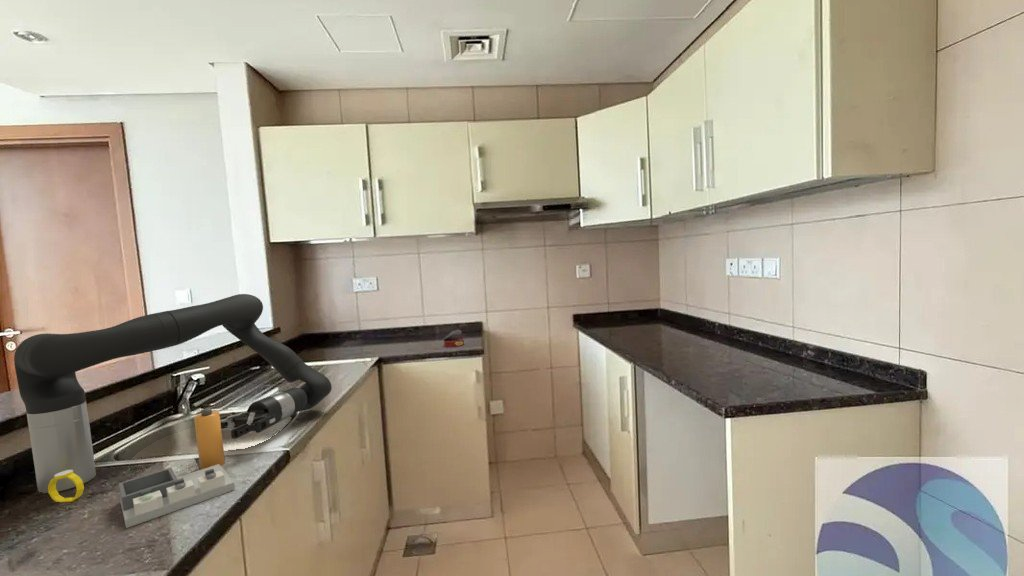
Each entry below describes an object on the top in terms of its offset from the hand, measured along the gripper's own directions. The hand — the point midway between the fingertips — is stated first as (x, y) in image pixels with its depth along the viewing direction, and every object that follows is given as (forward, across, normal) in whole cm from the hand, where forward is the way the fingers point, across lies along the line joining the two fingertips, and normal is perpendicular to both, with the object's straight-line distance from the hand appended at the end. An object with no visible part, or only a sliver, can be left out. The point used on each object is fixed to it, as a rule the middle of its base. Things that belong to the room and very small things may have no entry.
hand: (218, 433), depth 107 cm
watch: (+20, -17, +7) cm, 27 cm away
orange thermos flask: (+2, 0, +7) cm, 7 cm away
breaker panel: (+15, +6, +7) cm, 17 cm away
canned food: (-129, +4, +6) cm, 129 cm away
